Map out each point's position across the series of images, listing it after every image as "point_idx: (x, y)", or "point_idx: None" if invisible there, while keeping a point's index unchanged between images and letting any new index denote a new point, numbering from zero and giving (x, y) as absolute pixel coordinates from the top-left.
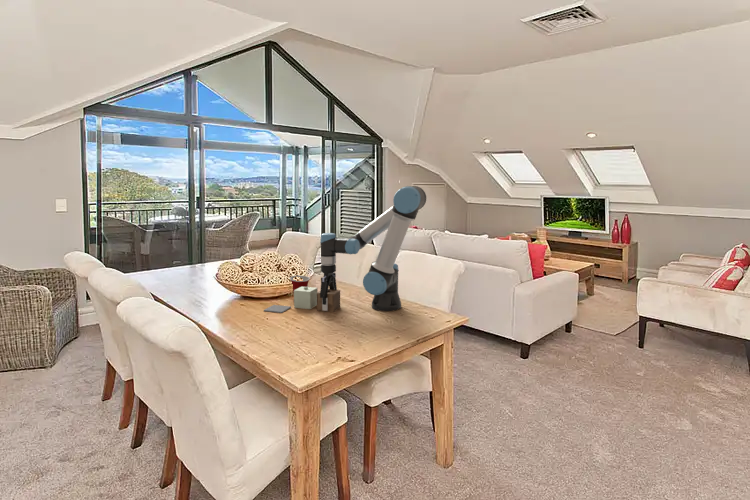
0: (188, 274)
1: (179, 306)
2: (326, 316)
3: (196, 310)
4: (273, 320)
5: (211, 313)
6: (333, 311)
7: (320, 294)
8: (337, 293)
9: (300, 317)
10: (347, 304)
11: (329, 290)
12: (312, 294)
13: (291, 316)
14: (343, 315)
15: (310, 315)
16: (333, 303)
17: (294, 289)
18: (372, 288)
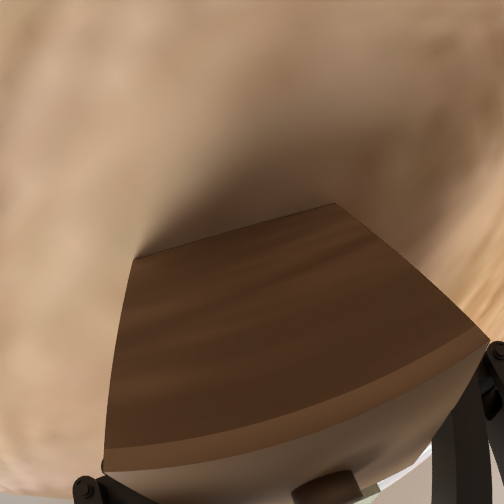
0: None
1: (383, 487)
2: (454, 183)
3: (405, 469)
4: (494, 339)
5: (425, 450)
6: (337, 208)
7: (498, 397)
8: (271, 408)
9: (475, 301)
10: (11, 264)
11: (352, 489)
12: None
13: None
14: (391, 50)
15: (447, 289)
16: (392, 251)
17: None
18: None
